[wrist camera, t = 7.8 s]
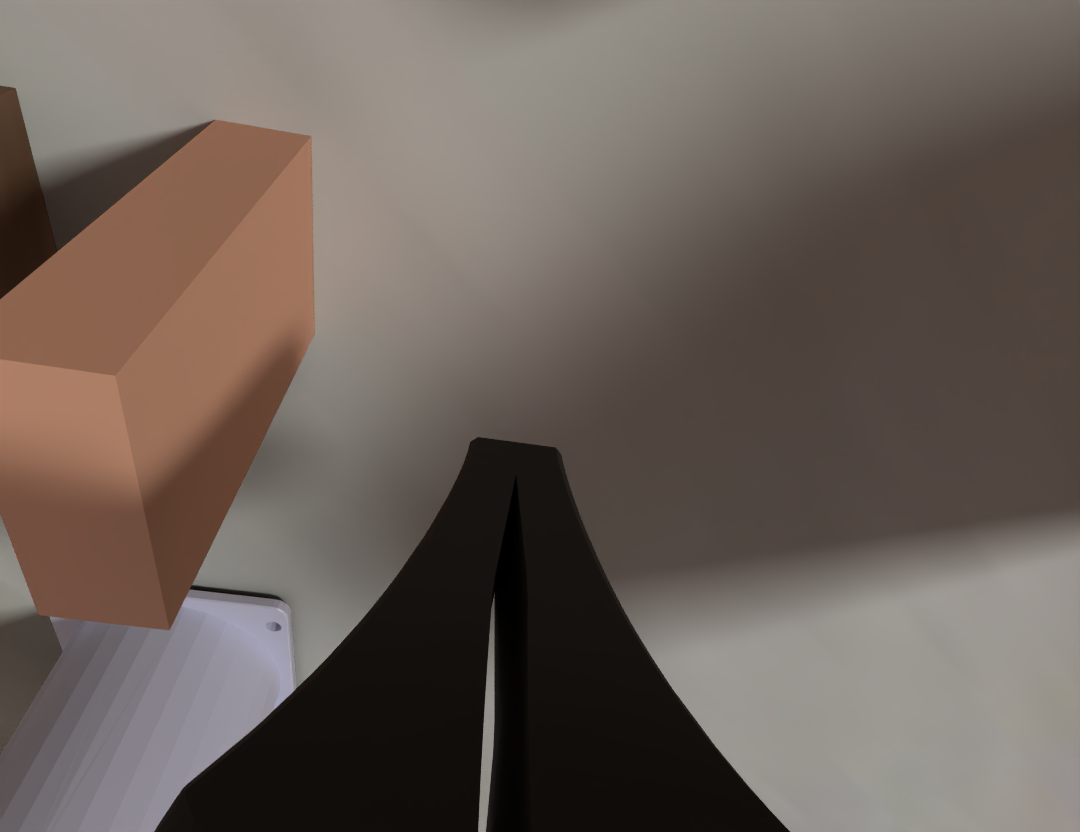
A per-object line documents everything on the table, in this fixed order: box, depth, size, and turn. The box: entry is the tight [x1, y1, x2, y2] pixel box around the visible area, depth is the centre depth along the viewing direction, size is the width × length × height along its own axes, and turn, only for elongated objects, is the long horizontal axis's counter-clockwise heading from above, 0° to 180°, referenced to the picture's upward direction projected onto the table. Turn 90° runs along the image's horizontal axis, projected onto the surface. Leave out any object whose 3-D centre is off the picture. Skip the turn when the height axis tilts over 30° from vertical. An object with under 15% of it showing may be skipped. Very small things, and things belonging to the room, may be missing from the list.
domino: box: [0, 120, 314, 630], centre depth 14 cm, size 5×2×9 cm, turn 171°
